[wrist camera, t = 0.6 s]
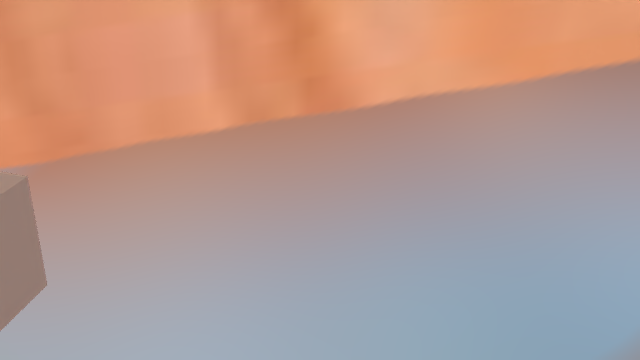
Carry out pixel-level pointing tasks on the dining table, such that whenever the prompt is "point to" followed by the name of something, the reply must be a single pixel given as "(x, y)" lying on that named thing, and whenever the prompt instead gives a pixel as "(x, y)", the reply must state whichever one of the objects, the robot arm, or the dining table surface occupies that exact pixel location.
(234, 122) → the dining table surface
